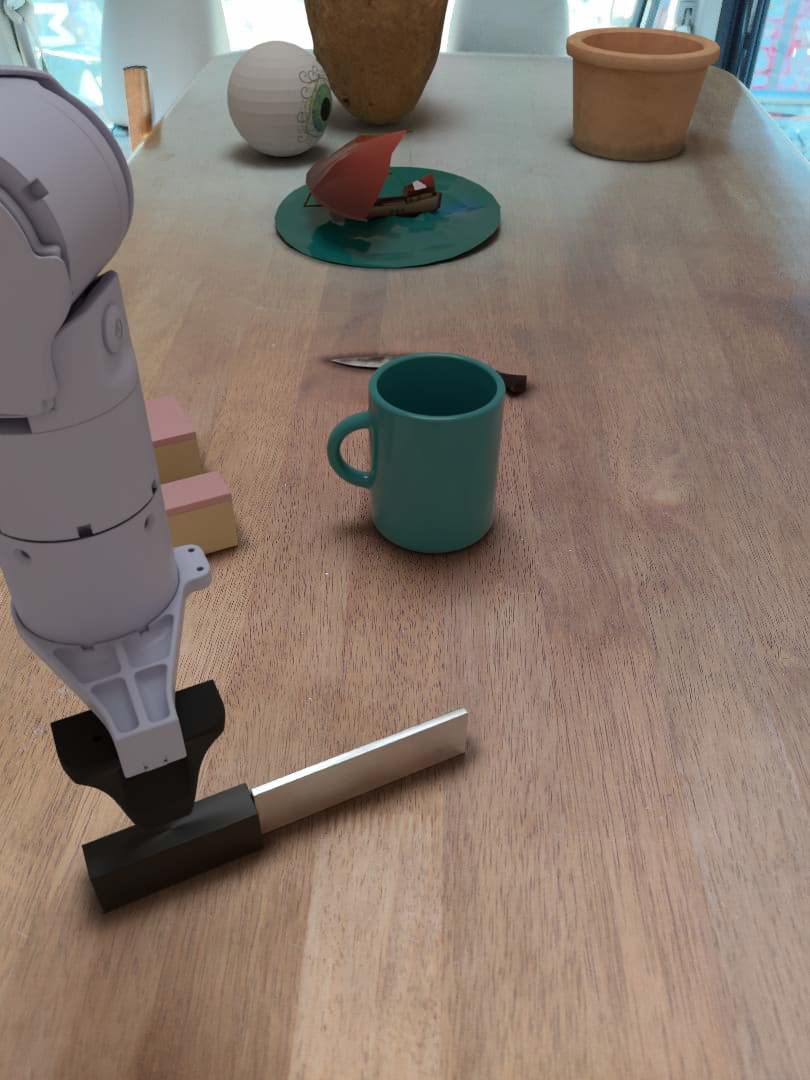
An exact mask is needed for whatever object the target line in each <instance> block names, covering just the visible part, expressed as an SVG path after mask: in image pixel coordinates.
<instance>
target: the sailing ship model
mask: <svg viewBox="0 0 810 1080" xmlns="http://www.w3.org/2000/svg"><path fill="white" fill-rule="evenodd" d="M412 132H413V129H408V130H401V131H394V132H388V133H383V134H375V135H374V134H373V135H371V134H362V133H361V134H358V135H357V136H356V137H354V138H353V139H351V140H350V141H349V142H347V143H346V144H344V145H343V146H342V147H340V148H339V149H337V150H336V151H334V152H332V153H331V154H328V155H327V156H323V157H322V158H321V159H319V160H317V161H316V162H315V163H313V165H311V167H310V169H308V171H307V172H306V174H305V184H303V185H302V186H300V187H299V186H298V188H296V189H294V190H292V191H291V192H290V193H289V194H287V195H286V196H285V198H283V199H282V201H281V202H280V204H279V205H278V207H277V209H276V212H275V214H274V222H275V226H276V230H277V232H278V233H279V235H280V236H281V237H282V238H283V240H284V242H286V243H287V244H288V245H290V246H291V247H292V248H294V249H296V250H297V251H298V252H300V253H301V254H303V255H306V256H308V257H311V258H315V259H318V260H323V261H326V262H332V263H337V264H342V265H349V266H355V267H363V268H383V269H384V268H387V269H391V268H392V269H397V268H407V267H413V266H421V265H422V266H423V265H428V264H432V263H436V262H440V261H443V260H448V259H452V258H454V257H457V256H458V255H462V254H463V253H466V252H468V251H470V250H472V249H473V248H475V247H477V246H478V245H481V244H482V243H484V242H485V241H486V240H487V239H488V238H489V237H490V236H492V235H493V234H494V233H495V232H496V231H497V229H498V227H499V226H500V223H501V219H502V216H501V214H502V213H501V205H500V204H499V202H498V201H497V200H496V198H495V196H494V195H493V194H492V193H491V192H490V191H489V190H487V189H486V188H485V187H483V186H482V185H481V184H479V183H477V182H475V181H472V180H471V179H469V178H466V177H464V176H461V175H457V174H455V173H452V172H448V171H443V170H440V169H435V168H434V169H433V168H426V167H419V166H418V167H416V166H391V162H392V161H391V160H392V155H393V153H394V152H395V150H396V148H397V147H398V146H399V144H400V142H401V141H402V140H403V138H404V136H405V135H406V134H407V133H412ZM411 152H412V151H410V153H409V154H410V155H409V156H410V158H409V159H410V160H411V155H412V153H411Z"/></svg>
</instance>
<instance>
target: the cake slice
mask: <svg viewBox="0 0 810 1080" xmlns="http://www.w3.org/2000/svg"><path fill="white" fill-rule="evenodd" d="M161 488H162V493H163V499H164V504H165V509H166V514H167V519H168V524H169V529H170V534H171V539H172V544H173V548H175V547H180V546H184V545H190V544H193V545H197V546H199V547H200V548H201V549H202V550H203V552H204V554H205V555H208V554H211V553H215V552H218V551H222V550H225V549H228V548H232V547H236V546H238V545H239V541H238V540H239V539H238V533H237V526H236V519H235V511H234V506H233V504H234V503H233V497H232V492H231V490H230V489H229V487H228V485H227V484H226V482H225V480H224V478H223V476H222V475H221V473H220V471H219V470H218V469H217V470H213V471H209V472H206V473H202V474H201V475H197V476H193V477H189V478H185V479H181V480H178V481H174V482H170V483H166V484H162V485H161Z"/></svg>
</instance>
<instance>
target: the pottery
mask: <svg viewBox="0 0 810 1080" xmlns="http://www.w3.org/2000/svg"><path fill="white" fill-rule="evenodd" d="M565 50H566V51H565V52H566V55H567V56H569V57H570V58H572V144H573V145H574V146H575V147H576V149H578V150H580V151H581V152H583V153H586V154H588V155H591V156H593V157H597V158H603V159H607V160H612V161H613V160H614V161H624V162H653V161H660V160H667V159H669V158H672V157H674V156H676V155H678V154H679V153H680V152H681V150H682V149H683V145H684V142H685V140H686V136H687V133H688V130H689V128H690V123H691V120H692V118H693V115H694V112H695V108H696V106H697V103H698V100H699V97H700V93H701V92H702V88H703V85H704V82H705V78H706V75H707V72H708V70H709V67H712V66H713V65H714V64H716V63H717V62H718V60H719V59H720V54H721V47H720V45H719V44H718V42H717V41H715V40H712V39H710V38H707V37H706V36H703V35H699V34H694V33H689V32H685V31H679V30H673V29H672V30H671V29H663V28H655V27H654V28H653V27H639V26H638V27H637V26H636V27H633V26H631V27H629V26H624V27H623V26H622V27H621V26H619V27H616V26H614V27H613V26H612V27H600V28H599V27H598V28H590V29H585V30H581V31H576V32H573V33H572V34H570V35H569V36H567V37H566V44H565Z"/></svg>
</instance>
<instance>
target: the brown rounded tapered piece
mask: <svg viewBox="0 0 810 1080" xmlns="http://www.w3.org/2000/svg"><path fill="white" fill-rule="evenodd" d="M303 3H304V10H305V14H306V19H307V25H308V28H309V32H310V35H311V40H312V45H313V46H312V48H313V49H312V53H313V55H314V58H315V59H316V60H317V61H318V63H319V64H320V65H321V66H322V68H323V70H324V72H325V74H326V76H327V78H328V81H329V85H330V88H331V93H332V95H334V97H335V98H336V99H337V101H338V103H340V105H341V106H342V107H343V108H344V109H345V110H346V111H347V112H348V114H351V116H352V117H355V118H356V119H357V120H360V121H361V122H363V123H366V124H369V125H371V126H382V125H386V124H390V123H395V122H399V121H401V120H403V119H404V118H406V117H407V116H408V115H410V114H411V112H413V110H414V109H415V108H416V106H417V104H419V101H420V99H421V97H422V95H423V93H424V91H425V88H426V86H427V84H428V82H429V80H430V78H431V76H432V74H433V72H434V70H435V67H436V64H437V62H438V57H439V54H440V52H441V46H442V40H443V39H442V38H443V33H444V28H445V20H446V16H447V10H448V5H449V0H303Z"/></svg>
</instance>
